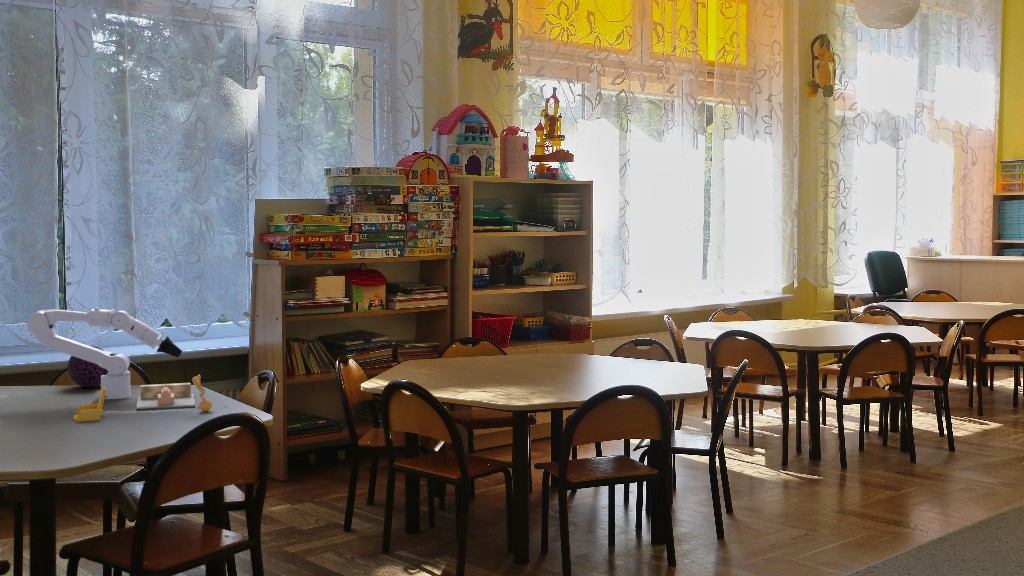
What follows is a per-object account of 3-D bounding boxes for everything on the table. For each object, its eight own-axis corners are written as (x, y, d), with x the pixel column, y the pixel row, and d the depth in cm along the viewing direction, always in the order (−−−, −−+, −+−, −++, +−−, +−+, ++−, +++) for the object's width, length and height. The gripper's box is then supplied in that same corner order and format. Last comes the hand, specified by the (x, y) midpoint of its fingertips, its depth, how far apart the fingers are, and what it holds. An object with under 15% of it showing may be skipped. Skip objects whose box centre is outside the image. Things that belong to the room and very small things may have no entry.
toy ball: (102, 390, 364) (101, 349, 363) (60, 390, 364) (59, 348, 363) (119, 383, 379) (118, 343, 378) (79, 383, 379) (78, 343, 378)
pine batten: (140, 398, 343) (140, 386, 342) (141, 396, 345) (140, 385, 345) (190, 395, 348) (190, 384, 347) (190, 394, 351) (190, 382, 350)
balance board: (136, 411, 327) (136, 394, 326) (138, 400, 346) (137, 384, 345) (195, 408, 333) (194, 391, 332) (193, 397, 351) (193, 381, 351)
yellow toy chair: (73, 416, 320) (72, 387, 319) (106, 414, 323) (105, 385, 323) (73, 422, 310) (72, 392, 309) (107, 420, 314) (106, 390, 313)
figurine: (215, 413, 324) (214, 375, 324) (195, 414, 321) (195, 377, 321) (208, 408, 332) (207, 372, 331) (189, 410, 329) (189, 373, 328)
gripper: (150, 324, 340) (186, 345, 343) (152, 323, 353) (187, 343, 357) (138, 342, 338) (174, 363, 341) (141, 340, 352) (176, 361, 355)
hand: (180, 354), depth 349 cm, fingers open, 7 cm apart
